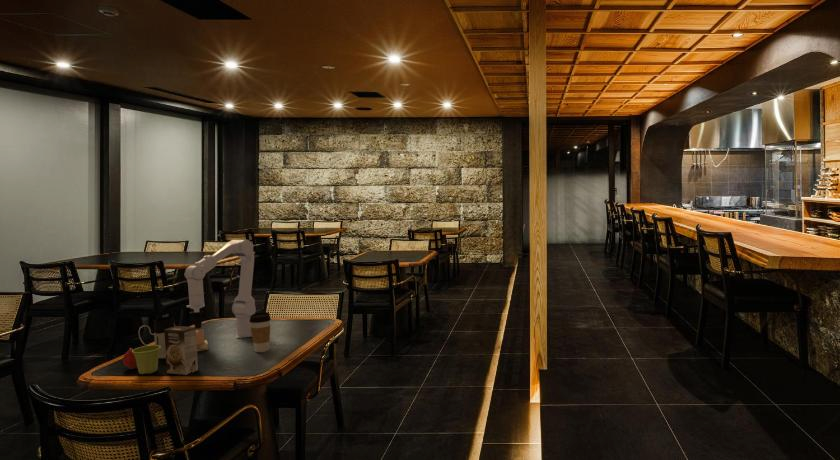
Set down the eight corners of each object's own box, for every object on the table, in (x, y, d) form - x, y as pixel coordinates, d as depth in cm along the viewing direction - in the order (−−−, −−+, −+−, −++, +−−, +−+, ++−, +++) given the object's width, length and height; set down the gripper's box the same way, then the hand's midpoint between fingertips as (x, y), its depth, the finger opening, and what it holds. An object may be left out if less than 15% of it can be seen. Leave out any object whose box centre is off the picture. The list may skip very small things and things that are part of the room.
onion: (128, 366, 204) (126, 346, 203) (143, 365, 204) (142, 345, 204) (120, 371, 198) (119, 350, 198) (137, 370, 198) (135, 349, 198)
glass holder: (181, 354, 218) (179, 318, 217) (144, 363, 208) (141, 325, 207) (173, 350, 224) (170, 315, 223) (136, 358, 214) (134, 321, 213)
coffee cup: (276, 347, 222) (274, 312, 221) (264, 353, 214) (262, 316, 213) (259, 346, 225) (257, 311, 224) (246, 352, 217) (244, 316, 216)
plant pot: (143, 377, 190) (141, 353, 190) (128, 373, 195) (126, 350, 195) (167, 369, 198) (166, 346, 198) (152, 366, 203) (151, 343, 203)
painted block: (204, 341, 228) (203, 329, 227) (204, 343, 224) (203, 331, 223) (194, 342, 226) (193, 330, 226) (193, 344, 222) (192, 332, 222)
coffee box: (166, 373, 194) (163, 329, 193) (179, 367, 200) (176, 325, 199) (185, 375, 191) (182, 330, 190) (199, 369, 197) (196, 326, 196)
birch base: (206, 347, 229) (206, 340, 229) (208, 350, 224) (207, 343, 224) (191, 349, 226) (191, 342, 226) (192, 352, 221) (192, 345, 221)
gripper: (186, 292, 229) (188, 323, 230) (184, 298, 216) (187, 331, 216) (204, 290, 232) (206, 321, 232) (203, 296, 218) (205, 329, 219)
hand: (198, 326), depth 225 cm, fingers open, 7 cm apart
